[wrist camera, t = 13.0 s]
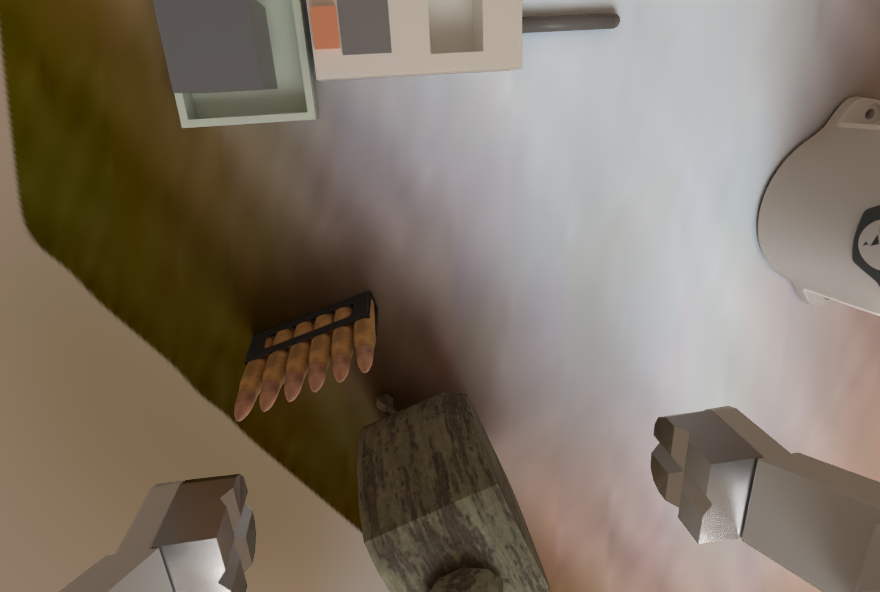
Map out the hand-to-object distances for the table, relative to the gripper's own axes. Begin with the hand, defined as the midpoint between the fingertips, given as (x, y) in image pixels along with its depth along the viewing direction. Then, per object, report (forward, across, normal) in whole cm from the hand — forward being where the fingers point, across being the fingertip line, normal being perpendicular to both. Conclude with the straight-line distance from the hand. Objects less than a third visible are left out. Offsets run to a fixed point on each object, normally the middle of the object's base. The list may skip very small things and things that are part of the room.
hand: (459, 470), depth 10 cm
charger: (+33, +9, -10) cm, 36 cm away
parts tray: (+34, +9, -10) cm, 37 cm away
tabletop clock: (+34, -2, +23) cm, 42 cm away
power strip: (+34, -7, -11) cm, 37 cm away
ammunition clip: (+34, +7, +11) cm, 37 cm away
